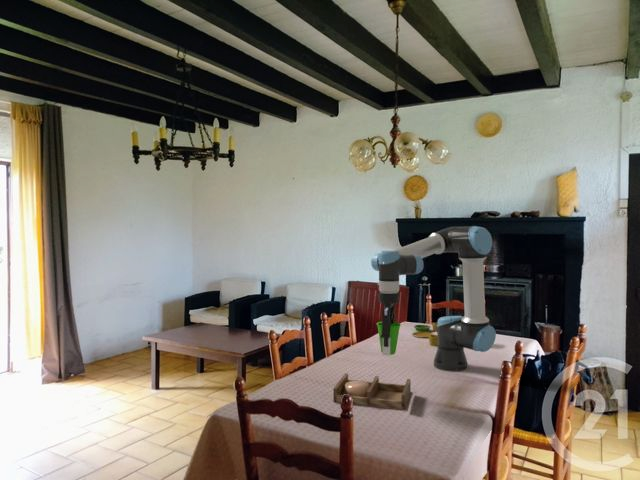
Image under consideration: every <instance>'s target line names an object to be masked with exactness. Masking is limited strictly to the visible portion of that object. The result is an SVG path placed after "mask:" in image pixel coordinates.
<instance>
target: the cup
mask: <svg viewBox="0 0 640 480" xmlns="http://www.w3.org/2000/svg"><path fill="white" fill-rule="evenodd" d="M401 325H402V324H401V323H399V322H396V321H395V322H394V324H391V326H390V356H391V355H392V356H393V355H395V353H396V352H397V347H398V345H397V344H398V340H399V332H400V327H401ZM376 326H377V330H378V336H379V344H380V352H381V353H382V355H383V338H381V337H380V336H381V335H382V321H379V322H376ZM385 334H387V333H385Z"/></svg>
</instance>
